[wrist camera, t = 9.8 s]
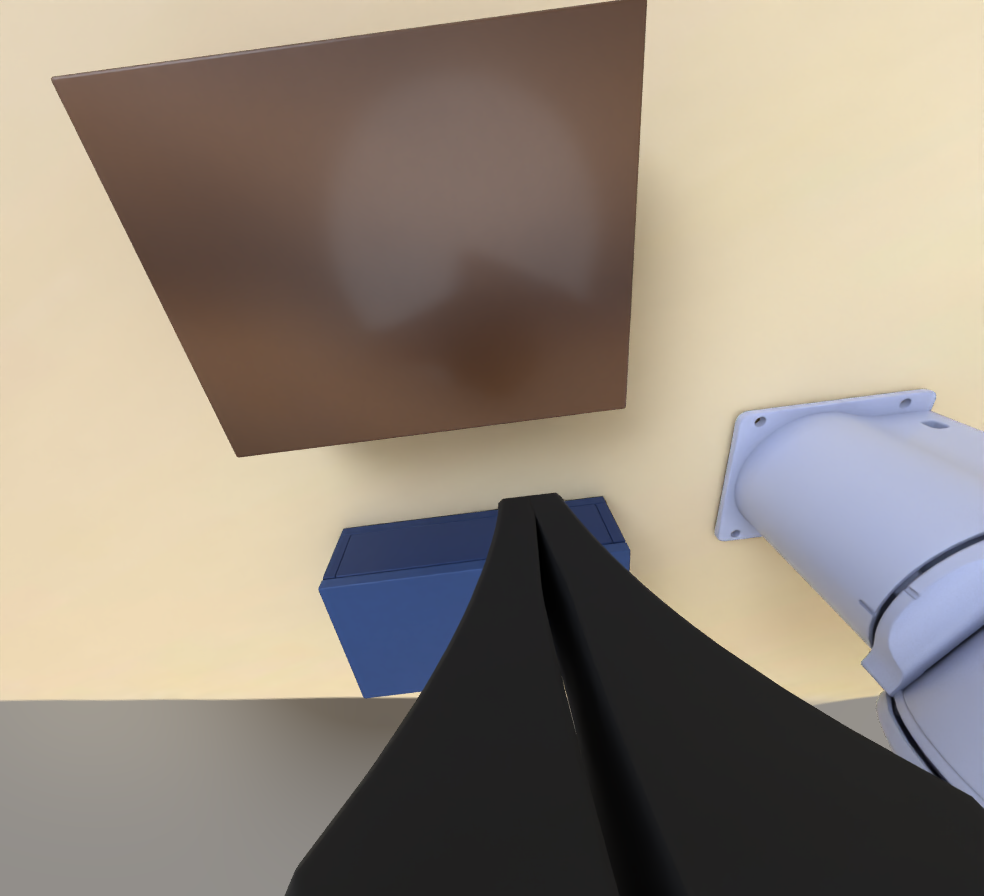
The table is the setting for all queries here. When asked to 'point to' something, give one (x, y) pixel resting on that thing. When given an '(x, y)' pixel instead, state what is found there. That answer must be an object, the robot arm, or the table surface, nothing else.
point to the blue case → (443, 540)
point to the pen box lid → (387, 220)
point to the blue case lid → (405, 620)
